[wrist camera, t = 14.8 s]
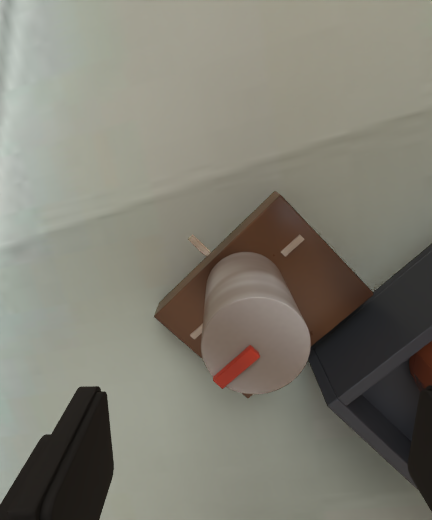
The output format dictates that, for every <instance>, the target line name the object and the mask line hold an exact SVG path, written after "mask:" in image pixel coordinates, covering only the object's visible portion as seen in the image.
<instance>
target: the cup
mask: <svg viewBox="0 0 432 520" xmlns="http://www.w3.org/2000/svg"><path fill="white" fill-rule="evenodd" d="M409 368H410V373H411V376H412V379H413V381H414V383H415V384H416V386H417V387H418V389H419V390H420V391H423V390H425V388H426V387H427V386H429V385H432V341H431V342H430V343H428V344H427V345H426V346H424V347H423V348H422V349H420V350H419V351H418V352H416V353H415V354H414V355H413V356H411V357H410V359H409Z"/></svg>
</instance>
